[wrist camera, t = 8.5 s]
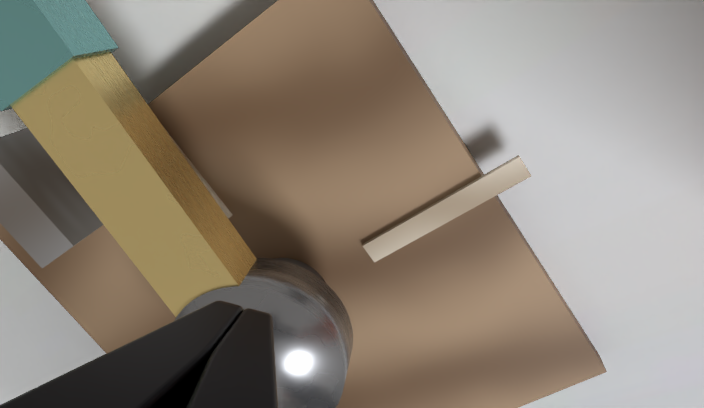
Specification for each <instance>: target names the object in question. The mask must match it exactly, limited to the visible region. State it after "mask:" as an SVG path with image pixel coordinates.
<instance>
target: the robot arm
mask: <svg viewBox="0 0 704 408" xmlns="http://www.w3.org/2000/svg"><path fill="white" fill-rule="evenodd" d="M0 408H278V396H277V381H276V366H275V351H274V336H273V321H272V316H271V315H270V314H269V313H266V312H262V311H258V310H255V309H251V308H247V309H245V310H244V309H243V307H242V306H239V305H236V304H232V303H228V302H225V301H220V300H219V301H215V302H212V303H210V304H208V305H206V306H204V307H202V308H200V309H198V310H196V311H194V312H192V313H190V314H188V315H186V316H183V317H181V318H179V319H177V320H175V321H173V322H171V323H169V324H167V325H165V326H163V327H161V328H159V329H157V330H155V331H152V332H150V333H148V334H146V335H144V336H142V337H140V338H138V339H136V340H134V341H132V342H130V343H128V344H126V345H124V346H121V347H119V348H117V349H115V350H113V351H111V352H109V353H107V354H105V355H103V356H101V357H99V358H97V359H95V360H93V361H90V362H88V363H86V364H84V365H82V366H80V367H78V368H76V369H74V370H72V371H70V372H68V373H66V374H64V375H61V376H59V377H57V378H55V379H53V380H51V381H49V382H47V383H45V384H43V385H41V386H39V387H37V388H35V389H33V390H30V391H28V392H26V393H24V394H22V395H20V396H18V397H16V398H14V399H12V400H10V401H8V402H6V403H4V404H2V405H0Z"/></svg>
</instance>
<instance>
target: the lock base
mask: <svg viewBox="0 0 704 408" xmlns="http://www.w3.org/2000/svg"><path fill="white" fill-rule="evenodd" d="M148 106H149V107H150V109H151V110H152V112H153V113H154V114H155V116H156V117H157V119H158V120H159V122H160V123H161V124H162V126H163V127H164V129H165V130H166V131H167V133H168V134H169V136H170V137H171V138H172V140H173V141H174V143H175V144H176V146H177V147H178V148H179V150H180V151H181V153H182V154H183V155H184V157H185V158H186V160H187V161H188V163H189V164H190V165H191V167H192V168H193V170H194V171H195V172H196V174H197V175H198V177H199V178H200V180H201V181H202V182H203V184H204V185H205V187H206V188H207V189H208V191H209V192H210V194H211V195H212V196H213V198H214V199H215V201H216V202H217V204H218V205H219V206H220V208H221V209H222V211H223V212H224V213H225V215H226V216H227V218H228V219H229V221H230V222H231V223H232V225H233V226H234V228H235V229H236V230H237V232H238V233H239V235H240V236H241V238H242V239H243V240H244V242H245V243H246V245H247V246H248V247H249V249H250V250H251V252H252V253H253V254H254V256H255V257H256V258H271V259H278V260H282V261H286V262H289V263H292V264H295V265H298V266H300V267H302V268H304V269H306V270H308V271H310V272H311V273H313V274H314V275H316V276H318V277H319V278H320V279H321V280H323V281H324V282H325V283H326V284H327V285H328V286H329V287H330V288H331V289H332V290H333V291H334V292H335V293H336V294H337V296H338V297H339V298H340V300H341V301H342V303H343V305H344V306H345V308H346V310H347V313H348V315H349V317H350V321H351V324H352V329H353V348H352V353H351V358H350V362H349V366H348V371H347V375H346V380H345V384H344V388H343V393H342V396H341V398H340V401H339V403H338V405H337V406H336V408H518V407H520V406H523V405H525V404H528V403H530V402H533V401H535V400H538V399H540V398H543V397H545V396H548V395H550V394H553V393H555V392H558V391H560V390H563V389H565V388H568V387H570V386H573V385H575V384H578V383H580V382H583V381H585V380H587V379H590V378H592V377H595V376H597V375H600V374H602V373H605V372H607V371H606V369H605V367H604V365H603V362H602V360H601V358H600V356H599V354H598V352H597V351H596V349H595V348H594V346H593V345H592V343H591V342H590V340H589V338H588V337H587V335H586V334H585V332H584V331H583V329H582V327H581V326H580V324H579V323H578V321H577V320H576V318H575V316H574V315H573V313H572V312H571V310H570V309H569V307H568V305H567V304H566V302H565V301H564V299H563V298H562V296H561V294H560V293H559V291H558V290H557V288H556V287H555V285H554V283H553V282H552V280H551V279H550V277H549V276H548V274H547V273H546V271H545V269H544V268H543V266H542V265H541V263H540V262H539V260H538V258H537V257H536V255H535V254H534V252H533V251H532V249H531V247H530V246H529V244H528V243H527V241H526V240H525V238H524V236H523V235H522V233H521V232H520V230H519V229H518V227H517V225H516V224H515V222H514V221H513V219H512V218H511V216H510V214H509V213H508V211H507V210H506V208H505V207H504V205H503V204H502V202H501V200H500V199H499V197H498V196H497V195H498V194H500V193H502V192H503V191H505V190H507V189H509V188H511V187H513V186H514V185H516V184H518V183H520V182H522V181H523V180H525V179H527V178H529V177H531V174H530V173H529V171H528V170H527V168H526V166H525V165H524V163H523V161H522V160H521V158H520V156H519V155H518V156H516V157H515V158H513V159H511V160H509V161H507V162H506V163H504V164H502V165H500V166H499V167H497V168H495V169H493V170H492V171H490V172H488V173H486V174H485V175H484V174H483V172H482V171H481V169H480V167H479V166H478V164H477V163H476V161H475V160H474V158H473V156H472V155H471V153H470V152H469V150H468V149H467V147H466V146H465V144H464V142H463V141H462V139H461V138H460V136H459V135H458V133H457V131H456V130H455V128H454V127H453V125H452V124H451V122H450V120H449V119H448V117H447V116H446V114H445V113H444V111H443V109H442V108H441V106H440V105H439V103H438V102H437V100H436V98H435V97H434V95H433V94H432V92H431V91H430V89H429V87H428V86H427V84H426V83H425V81H424V80H423V78H422V77H421V75H420V73H419V72H418V70H417V69H416V67H415V66H414V64H413V62H412V61H411V59H410V58H409V56H408V55H407V53H406V51H405V50H404V48H403V47H402V45H401V44H400V42H399V40H398V39H397V37H396V36H395V34H394V33H393V31H392V29H391V28H390V26H389V25H388V23H387V22H386V20H385V18H384V17H383V15H382V14H381V12H380V11H379V9H378V8H377V6H376V4H375V3H374V1H373V0H278V1H276V2H275V3H274V4H273V5H271V6H270V7H269V8H268V9H266V10H265V11H264V12H263V13H261V14H260V15H259V16H258V17H256V18H255V19H254V20H253V21H251V22H250V23H249V24H248V25H246V26H245V27H244V28H243V29H241V30H240V31H239V32H238V33H236V34H235V35H234V36H233V37H231V38H230V39H229V40H228V41H226V42H225V43H224V44H223V45H221V46H220V47H219V48H218V49H216V50H215V51H214V52H213V53H211V54H210V55H209V56H208V57H206V58H205V59H204V60H203V61H201V62H200V63H199V64H198V65H196V66H195V67H194V68H193V69H191V70H190V71H189V72H188V73H186V74H185V75H184V76H183V77H181V78H180V79H179V80H178V81H176V82H175V83H174V84H173V85H171V86H170V87H169V88H168V89H166V90H165V91H164V92H163V93H161V94H160V95H159V96H158V97H156V98H155V99H154V100H153V101H151V102H150V103H149V104H148ZM0 239H1V241H2V242H3V243H4V244H5V245H6V246H7V247H8V248H9V249H10V250H11V251H12V252H13V253H14V255H15V256H16V257H17V258H18V259H19V260H20V261H21V262H22V263H23V264H24V265H25V266H26V267H27V268H28V270H29V271H30V272H31V273H32V274H33V275H34V276H35V277H36V278H37V279H38V280H39V281H40V282H41V284H42V285H43V286H44V287H45V288H46V289H47V290H48V291H49V292H50V293H51V294H52V295H53V296H54V297H55V299H56V300H57V301H58V302H59V303H60V304H61V305H62V306H63V307H64V308H65V309H66V310H67V311H68V313H69V314H70V315H71V316H72V317H73V318H74V319H75V320H76V321H77V322H78V323H79V324H80V325H81V326H82V328H83V329H84V330H85V331H86V332H87V333H88V334H89V335H90V336H91V337H92V338H93V339H94V340H95V342H96V343H97V344H98V345H99V346H100V347H101V348H102V349H103V350H104V351H105V352H106V353H109V352H111V351H113V350H115V349H117V348H119V347H121V346H124V345H126V344H128V343H130V342H132V341H134V340H136V339H138V338H140V337H142V336H144V335H146V334H148V333H150V332H152V331H155V330H157V329H159V328H161V327H163V326H165V325H167V324H169V323H171V322H173V321H174V320H175V319H176V317H175V316H174V314H173V313H172V312H171V310H170V309H169V308H168V307H167V305H166V304H165V303H164V301H163V300H162V299H161V298H160V296H159V295H158V294H157V293H156V291H155V290H154V289H153V287H152V286H151V285H150V284H149V282H148V281H147V280H146V278H145V277H144V276H143V275H142V273H141V272H140V271H139V269H138V268H137V267H136V266H135V264H134V263H133V262H132V261H131V259H130V258H129V257H128V255H127V254H126V253H125V252H124V250H123V249H122V248H121V246H120V245H119V244H118V243H117V241H116V240H115V239H114V237H113V236H112V235H111V234H110V232H109V231H108V230H107V229H106V227H105V226H104V225H103V223H102V222H101V221H100V220H99V218H98V217H97V216H96V214H95V213H94V212H93V211H92V209H91V208H90V207H89V206H88V204H87V203H86V202H85V200H84V199H83V198H82V197H81V195H80V194H79V193H78V191H77V190H76V189H75V188H74V186H73V185H72V184H71V182H70V181H69V180H68V179H67V177H66V176H65V175H64V174H63V172H62V171H61V170H60V168H59V167H58V166H57V165H56V163H55V162H54V161H53V159H52V158H51V157H50V156H49V154H48V153H47V152H46V151H45V149H44V148H43V147H42V145H41V144H40V143H39V142H38V140H37V139H36V138H35V136H34V135H33V134H32V133H31V131H30V130H29V129H28V128H26V129H23V130H20V131H17V132H14V133H12V134H9V135H6V136H3V137H0Z"/></svg>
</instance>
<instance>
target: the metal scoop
mask: <svg viewBox="0 0 704 408" xmlns="http://www.w3.org/2000/svg"><path fill="white" fill-rule="evenodd" d="M117 48H118V46H117V45H116V43H115V42H114V40H113V39H112V38H111V36H110V35H109V33H108V32H107V30H106V29H105V28H104V26H103V25H102V23H101V22H100V21H99V19H98V18H97V16H96V15H95V13H94V12H93V11H92V9H91V8H90V6H89V5H88V3H87V2H86V1H85V0H0V110H1V111H4V110H8V109H11V108H13V110H14V111H15V112H16V113H17V115H18V116H19V117H20V119H21V120H22V121H23V122H24V124H25V125H26V126H27V127H28V129H29V130H30V131H31V133H32V134H33V135H34V136H35V138H36V139H37V140H38V142H39V143H40V144H41V145H42V147H43V148H44V149H45V151H46V152H47V153H48V154H49V156H50V157H51V158H52V159H53V161H54V162H55V163H56V165H57V166H58V167H59V168H60V170H61V171H62V172H63V174H64V175H65V176H66V177H67V179H68V180H69V181H70V182H71V184H72V185H73V186H74V188H75V189H76V190H77V191H78V193H79V194H80V195H81V197H82V198H83V199H84V200H85V202H86V203H87V204H88V206H89V207H90V208H91V209H92V211H93V212H94V213H95V214H96V216H97V217H98V218H99V220H100V221H101V222H102V223H103V225H104V226H105V227H106V229H107V230H108V231H109V232H110V234H111V235H112V236H113V237H114V239H115V240H116V241H117V243H118V244H119V245H120V246H121V248H122V249H123V250H124V252H125V253H126V254H127V255H128V257H129V258H130V259H131V261H132V262H133V263H134V264H135V266H136V267H137V268H138V269H139V271H140V272H141V273H142V275H143V276H144V277H145V278H146V280H147V281H148V282H149V284H150V285H151V286H152V287H153V289H154V290H155V291H156V293H157V294H158V295H159V296H160V298H161V299H162V300H163V301H164V303H165V304H166V305H167V307H168V308H169V309H170V310H171V312H172V313H173V314H174V316H175V317H176V319H175V320H177V319H179V318H181V317H183V316H186V315H188V314H190V313H192V312H194V311H196V310H198V309H200V308H202V307H204V306H206V305H208V304H210V303H212V302H215V301H219V300H220V301H225V302H228V303H232V304H236V305H239V306H242V307H243V309H244V310H245V309H247V308H251V309H255V310H258V311H262V312H266V313H269V314H270V315H271V316H272V321H273V336H274V351H275V366H276V381H277V396H278V408H336V406H337V405H338V403H339V401H340V398H341V396H342V393H343V388H344V384H345V380H346V375H347V371H348V366H349V362H350V358H351V353H352V348H353V329H352V324H351V321H350V317H349V315H348V313H347V310H346V308H345V306H344V305H343V303H342V301H341V300H340V298H339V297H338V296H337V294H336V293H335V292H334V291H333V290H332V289H331V288H330V287H329V286H328V285H327V284H326V283H325V282H324V281H323V280H321V279H320V278H319V277H318V276H316V275H314V274H313V273H311V272H310V271H308V270H306V269H304V268H302V267H300V266H298V265H295V264H292V263H289V262H286V261H282V260H278V259H271V258H256V257H255V256H254V254H253V253H252V252H251V250H250V249H249V247H248V246H247V245H246V243H245V242H244V240H243V239H242V238H241V236H240V235H239V233H238V232H237V230H236V229H235V228H234V226H233V225H232V223H231V222H230V221H229V219H228V218H227V216H226V215H225V213H224V212H223V211H222V209H221V208H220V206H219V205H218V204H217V202H216V201H215V199H214V198H213V196H212V195H211V194H210V192H209V191H208V189H207V188H206V187H205V185H204V184H203V182H202V181H201V180H200V178H199V177H198V175H197V174H196V172H195V171H194V170H193V168H192V167H191V165H190V164H189V163H188V161H187V160H186V158H185V157H184V155H183V154H182V153H181V151H180V150H179V148H178V147H177V146H176V144H175V143H174V141H173V140H172V138H171V137H170V136H169V134H168V133H167V131H166V130H165V129H164V127H163V126H162V124H161V123H160V122H159V120H158V119H157V117H156V116H155V114H154V113H153V112H152V110H151V109H150V107H149V106H148V105H147V103H146V102H145V100H144V99H143V97H142V96H141V95H140V93H139V92H138V90H137V89H136V88H135V86H134V85H133V83H132V82H131V80H130V79H129V78H128V76H127V75H126V73H125V72H124V71H123V69H122V68H121V66H120V65H119V64H118V62H117V61H116V59H115V58H114V56H113V55H112V54H111V53H112V52H113V51H115V50H116V49H117ZM175 320H174V321H175Z"/></svg>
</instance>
